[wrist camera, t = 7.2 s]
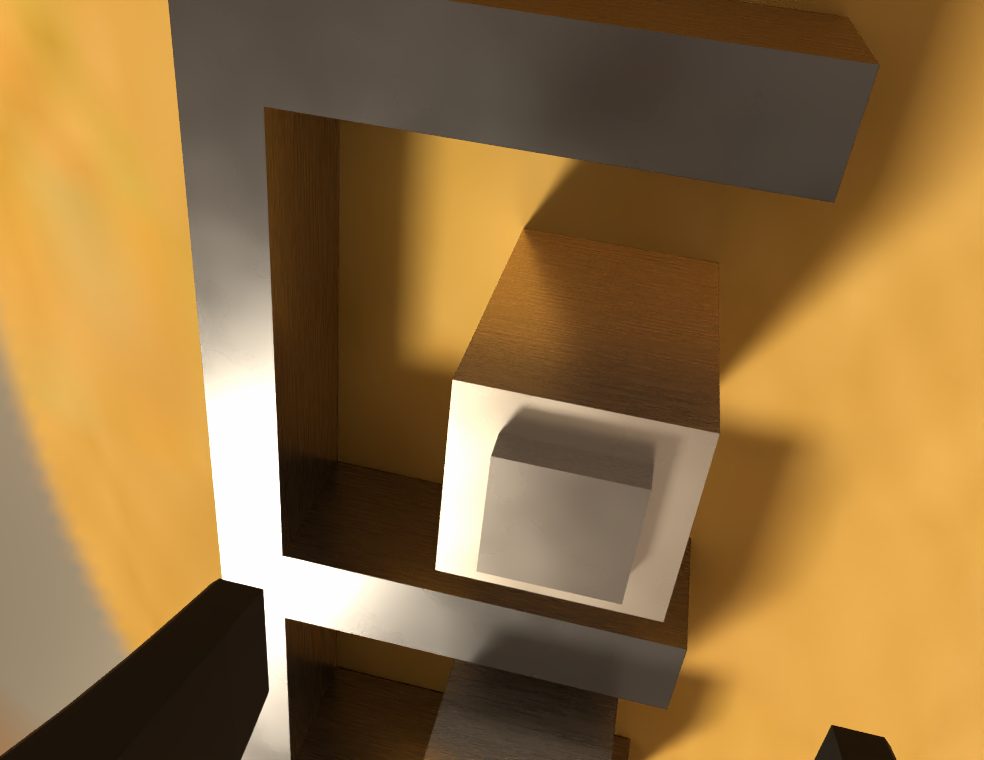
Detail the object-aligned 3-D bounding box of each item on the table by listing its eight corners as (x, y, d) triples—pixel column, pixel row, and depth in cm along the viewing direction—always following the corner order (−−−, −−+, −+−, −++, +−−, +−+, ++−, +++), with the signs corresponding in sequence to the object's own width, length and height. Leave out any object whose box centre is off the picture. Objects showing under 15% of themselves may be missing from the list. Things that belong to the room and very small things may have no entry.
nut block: (676, 423, 20) (661, 649, 15) (502, 388, 21) (426, 595, 15) (718, 263, 18) (720, 458, 12) (523, 228, 18) (442, 401, 13)
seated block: (601, 707, 26) (574, 921, 21) (467, 674, 26) (409, 876, 21) (627, 611, 23) (603, 825, 18) (479, 578, 24) (418, 777, 19)
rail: (617, 779, 27) (606, 894, 24) (291, 697, 28) (242, 797, 25) (847, 16, 15) (879, 64, 12) (262, -67, 16) (164, -42, 13)
